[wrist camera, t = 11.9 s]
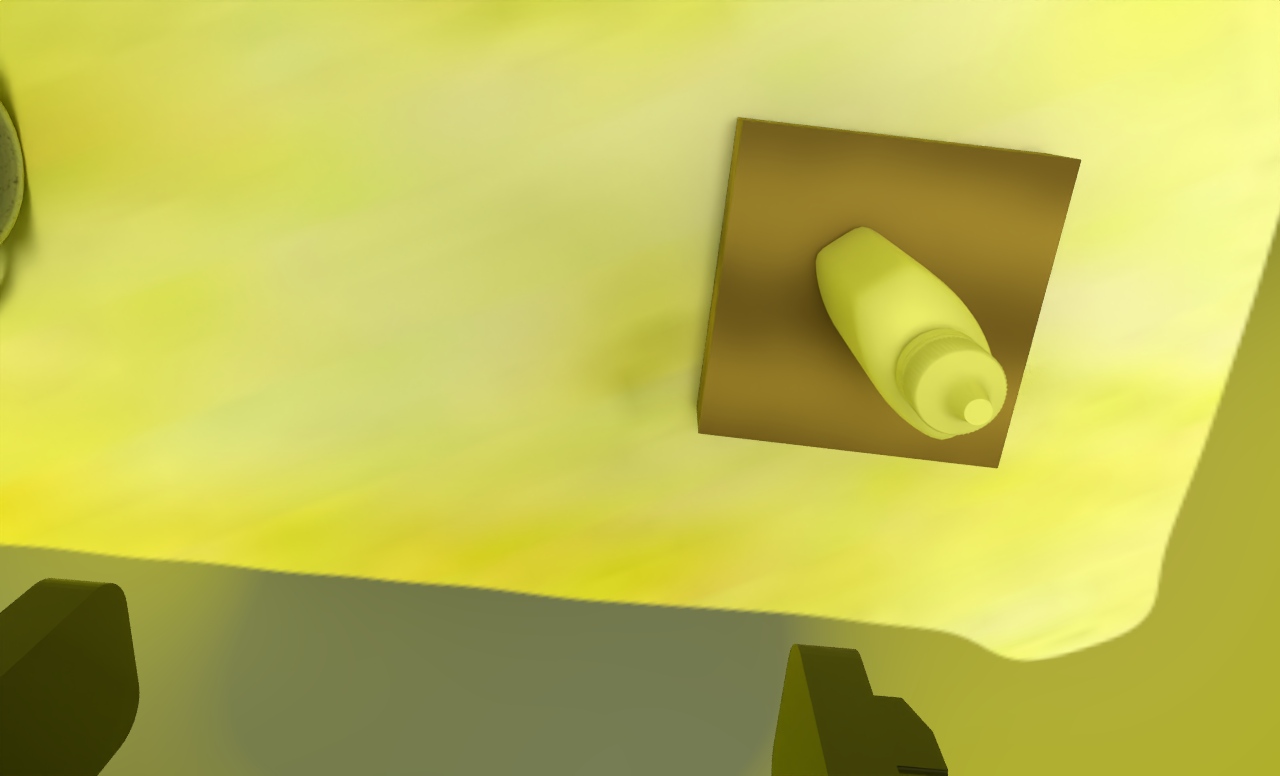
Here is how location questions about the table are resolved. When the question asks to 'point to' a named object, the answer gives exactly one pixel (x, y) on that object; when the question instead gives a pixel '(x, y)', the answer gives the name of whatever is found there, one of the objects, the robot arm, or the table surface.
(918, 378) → the squeeze bottle
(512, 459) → the table surface
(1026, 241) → the walnut plinth
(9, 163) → the ceramic mug
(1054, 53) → the table surface
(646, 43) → the table surface
